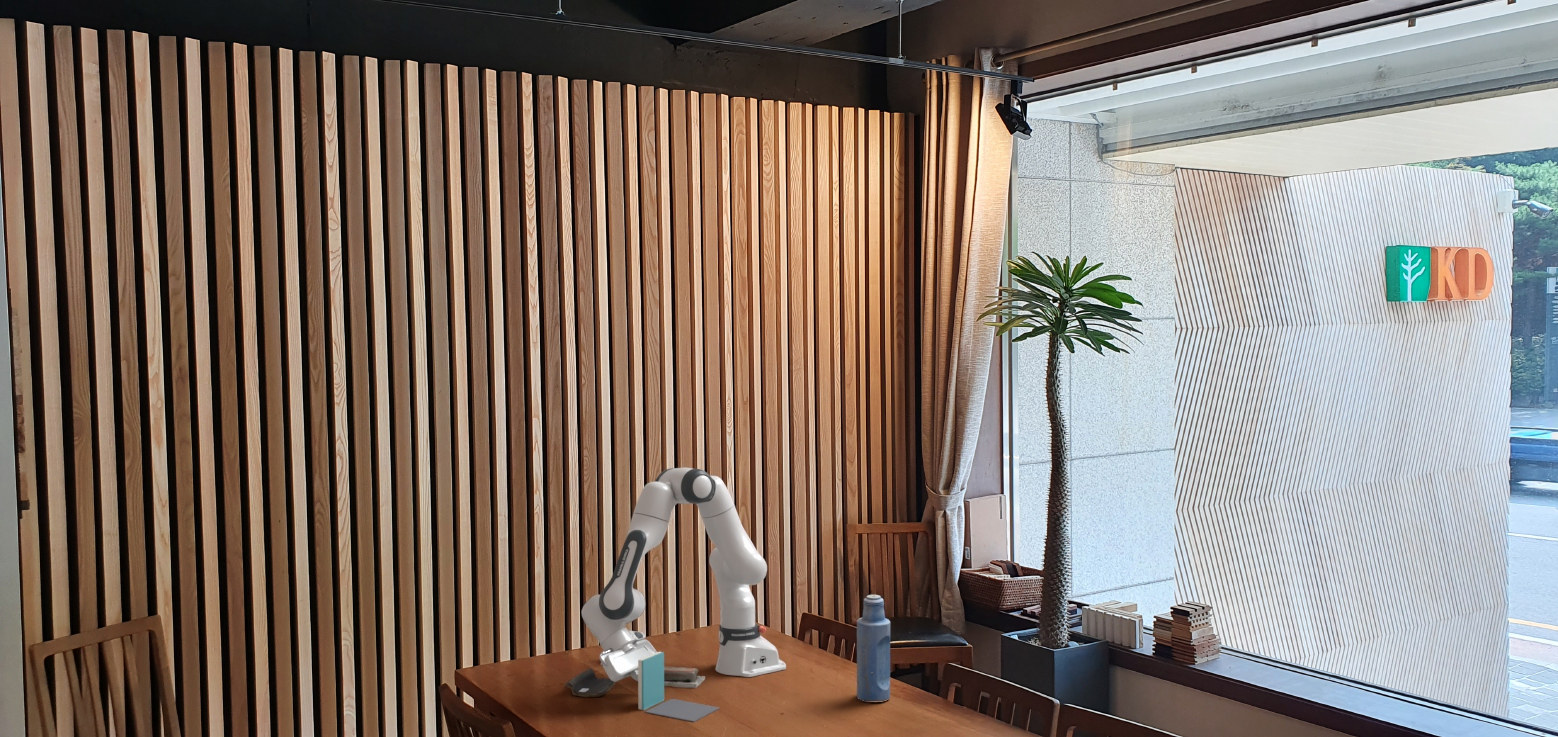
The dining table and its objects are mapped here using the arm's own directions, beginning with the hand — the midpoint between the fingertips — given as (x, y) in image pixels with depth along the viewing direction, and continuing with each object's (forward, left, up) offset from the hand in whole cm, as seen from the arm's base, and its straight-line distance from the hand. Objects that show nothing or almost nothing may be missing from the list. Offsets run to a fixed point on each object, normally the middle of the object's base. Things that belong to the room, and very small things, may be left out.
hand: (647, 683), depth 314 cm
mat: (-7, +10, -6) cm, 14 cm away
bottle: (-61, +24, -6) cm, 66 cm away
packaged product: (-14, -17, -6) cm, 23 cm away
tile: (-1, +1, -6) cm, 6 cm away
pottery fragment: (+11, -20, -6) cm, 23 cm away
